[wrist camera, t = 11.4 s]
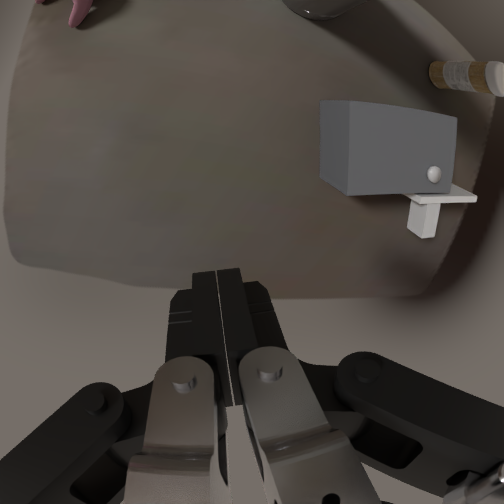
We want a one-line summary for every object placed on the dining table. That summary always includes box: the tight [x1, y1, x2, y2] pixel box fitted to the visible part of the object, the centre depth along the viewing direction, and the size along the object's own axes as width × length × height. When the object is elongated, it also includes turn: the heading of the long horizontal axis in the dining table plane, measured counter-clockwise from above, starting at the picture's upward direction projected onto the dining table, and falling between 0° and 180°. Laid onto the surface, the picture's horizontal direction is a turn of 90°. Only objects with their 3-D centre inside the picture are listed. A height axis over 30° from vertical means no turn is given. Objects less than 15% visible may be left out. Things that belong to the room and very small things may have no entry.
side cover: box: [403, 184, 477, 238], centre depth 36 cm, size 6×12×8 cm, turn 93°
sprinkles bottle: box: [429, 61, 504, 97], centre depth 25 cm, size 5×5×14 cm
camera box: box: [320, 100, 457, 196], centre depth 31 cm, size 10×17×9 cm, turn 93°
